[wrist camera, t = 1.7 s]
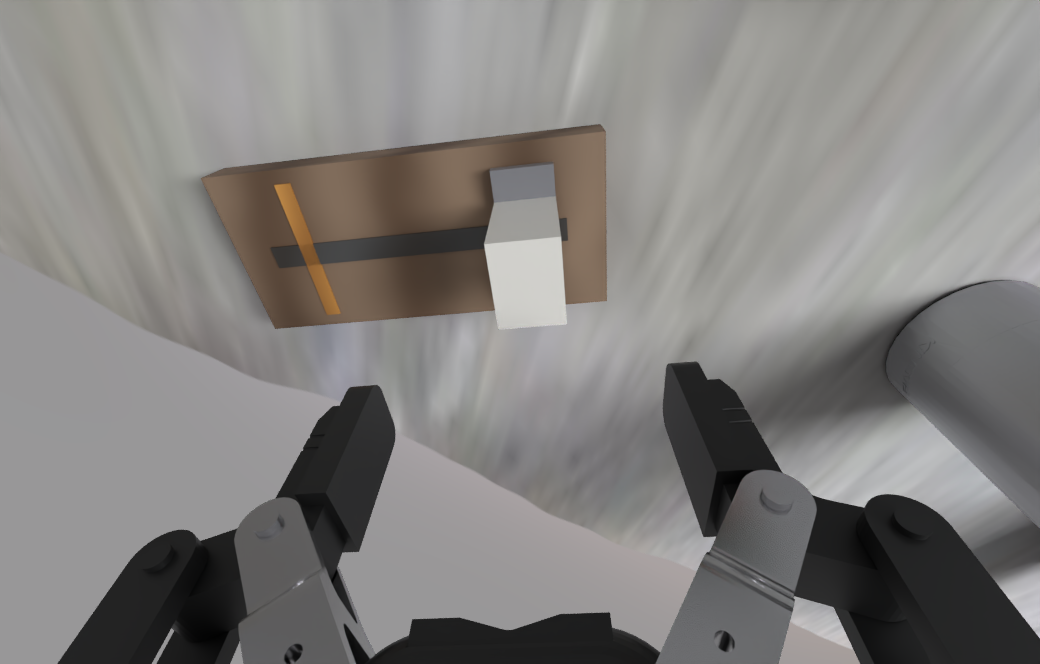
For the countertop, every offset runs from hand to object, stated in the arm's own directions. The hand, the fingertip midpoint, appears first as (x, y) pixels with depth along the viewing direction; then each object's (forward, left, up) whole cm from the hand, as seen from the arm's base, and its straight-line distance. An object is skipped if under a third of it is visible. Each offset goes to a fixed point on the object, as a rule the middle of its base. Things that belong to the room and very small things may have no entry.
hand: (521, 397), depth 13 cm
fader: (0, 0, -13) cm, 13 cm away
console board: (+6, 0, -15) cm, 16 cm away
